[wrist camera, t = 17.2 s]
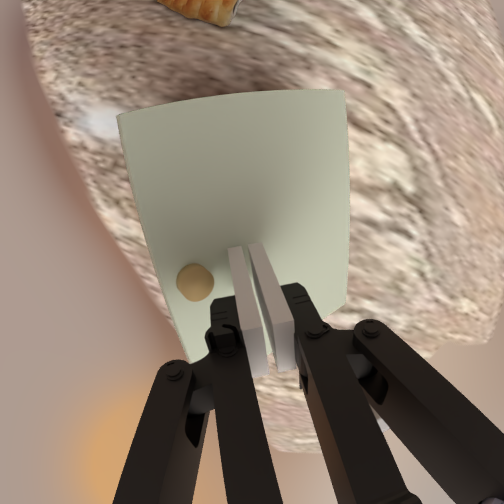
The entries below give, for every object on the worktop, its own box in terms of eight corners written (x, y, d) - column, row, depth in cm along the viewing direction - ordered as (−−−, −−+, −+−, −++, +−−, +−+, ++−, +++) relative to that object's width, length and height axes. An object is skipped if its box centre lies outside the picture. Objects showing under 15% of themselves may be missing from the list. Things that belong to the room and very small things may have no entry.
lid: (116, 116, 11) (121, 112, 10) (335, 90, 17) (353, 89, 16) (198, 384, 19) (209, 399, 18) (339, 299, 26) (352, 307, 24)
